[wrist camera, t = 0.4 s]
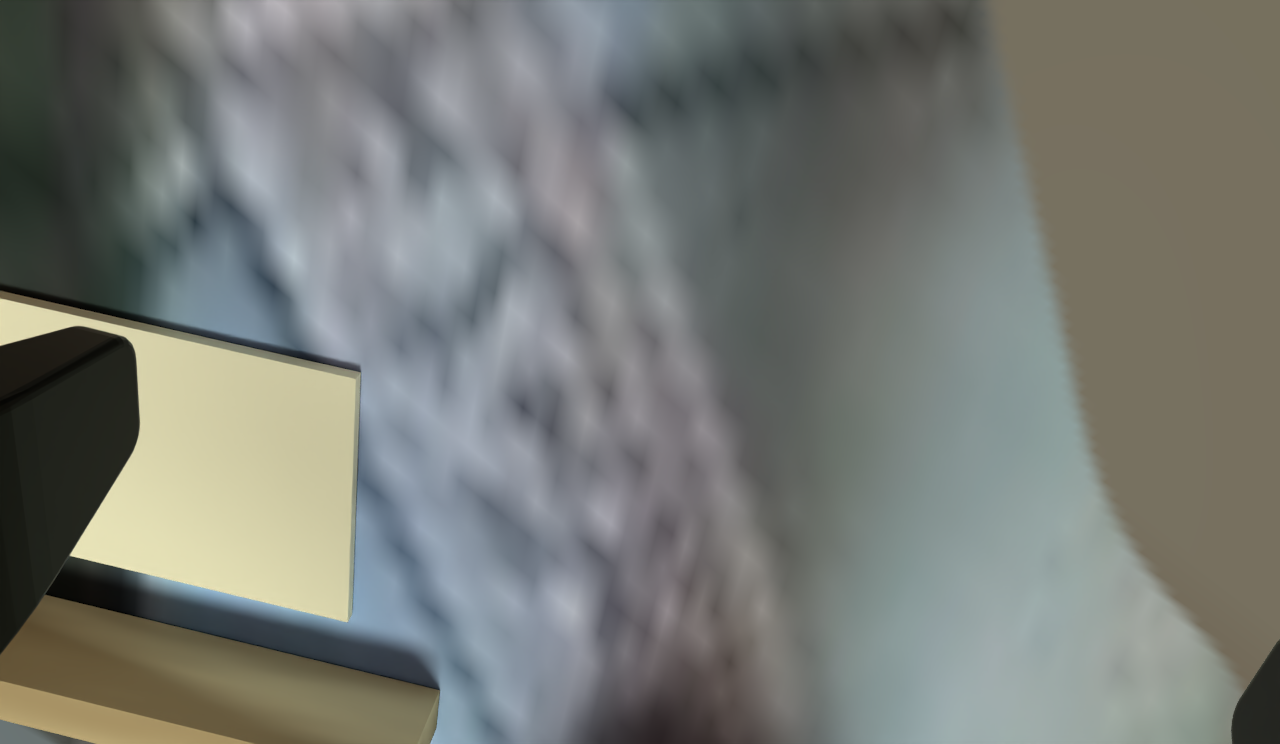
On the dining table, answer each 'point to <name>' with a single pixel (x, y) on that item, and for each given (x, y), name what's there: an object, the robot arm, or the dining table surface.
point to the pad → (226, 465)
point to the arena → (192, 687)
